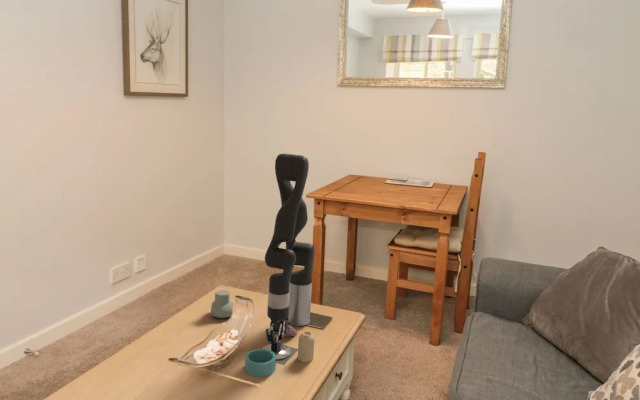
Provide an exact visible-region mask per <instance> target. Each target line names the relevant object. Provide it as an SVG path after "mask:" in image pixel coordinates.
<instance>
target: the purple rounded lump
mask: <svg viewBox="0 0 640 400" xmlns="http://www.w3.org/2000/svg"><path fill="white" fill-rule="evenodd" d="M275 333H276V332H275ZM297 334H298V332H297V330H296V329H295V327H293V325H291V324H287V329H286V333H284V336H283V337H285V338H286V337H287V338H288V337H289V336H291V337H296V336H297Z"/></svg>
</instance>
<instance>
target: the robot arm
mask: <svg viewBox="0 0 640 400" xmlns="http://www.w3.org/2000/svg"><path fill="white" fill-rule="evenodd" d="M275 158H276V159H275V160H274V161H275V162H274V172H275V178H276V181H277V187H278V190H279V195H280V203H281V204H280V205H281V207H280V209H278V212H277V214H276V217H275V221H274V230H273V234H272V237H271V240H270V243H269V246H268V247H267V250H266V251H265V253H264V254H265V255H264V263H265V264H266V266H267V267H269V268H273V269H278V270H283V271H282V272H277V273H273V274H271V275H270V277H269V281H268V283H269V284H268V296H267V308H266V309H267V310H266V311H267V317H268V318H269V319H270V324H269V328H266V330H265V333H266V338H267V343H268V342H271V351H274V352H277V350H278V338H279V339H281V340H282V341H281V347H282V344H283V340H284V339H283V338H284V337H285V336H284V333H286V329H287V325H291V326H296V327H303V326H307V325H308V324H309V325H310V322H311V307H312V286H313V272H314V262H315V255H316V249H315V246H314V244H313V243H308V242H300V241H297V240H296V239H297V237H298V235H299V234H300V233H301V232H302V231H303V229H304V228H305V227H306V225H307V223H308V210H307V204H306V201H305V200H304V199H303V194H304V190H305V186H306V184H307V178H308V174H309V167H310V165H309V164H310V163H309V159H308V157H307V156H306V155H300V154H293V153H292V154H290V153H279V154H278V155H277V156H276V157H275ZM291 182H294V187H293V184H292V183H291ZM282 243H285V248H282V247H280V246H281V244H282ZM295 266H298V267H299V266H300V267H303V269H300V270H295V271H294V268H295ZM275 332H276V333H275ZM275 338H276V339H275Z"/></svg>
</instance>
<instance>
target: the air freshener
mask: <svg viewBox="0 0 640 400" xmlns="http://www.w3.org/2000/svg"><path fill="white" fill-rule="evenodd" d="M230 294H231V293H230V291H229V290H227V289H226V290H225V289H220V290H216V292H215V293H214V301H212V302H211V306H210V315H211V316H213V317H214V318H217V319H226V318H228V317H231V316H232V315H233V311H234V310H233V307H234V303H233V302H232V301H231V299H230Z"/></svg>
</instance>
